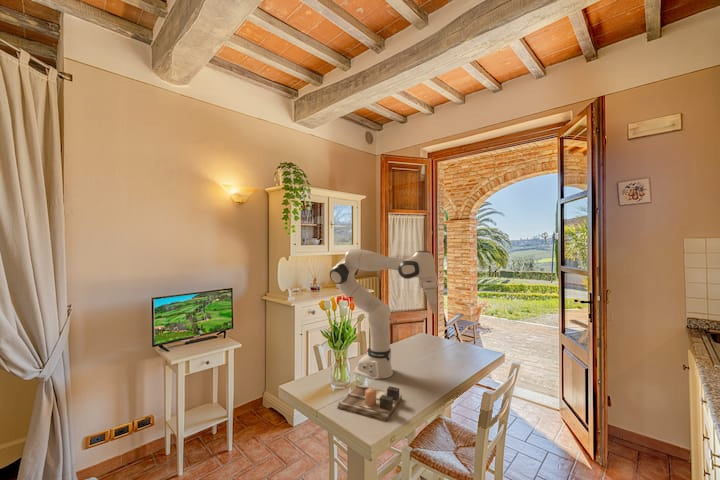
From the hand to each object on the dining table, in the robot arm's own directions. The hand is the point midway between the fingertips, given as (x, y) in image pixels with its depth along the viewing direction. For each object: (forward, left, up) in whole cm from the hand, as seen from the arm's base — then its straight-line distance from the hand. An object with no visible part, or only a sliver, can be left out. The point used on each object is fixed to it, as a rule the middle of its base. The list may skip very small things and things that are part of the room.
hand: (433, 311), depth 150 cm
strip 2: (-21, -14, -40) cm, 47 cm away
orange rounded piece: (-24, -23, -39) cm, 51 cm away
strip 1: (-21, -23, -40) cm, 51 cm away
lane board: (-26, -19, -42) cm, 52 cm away
